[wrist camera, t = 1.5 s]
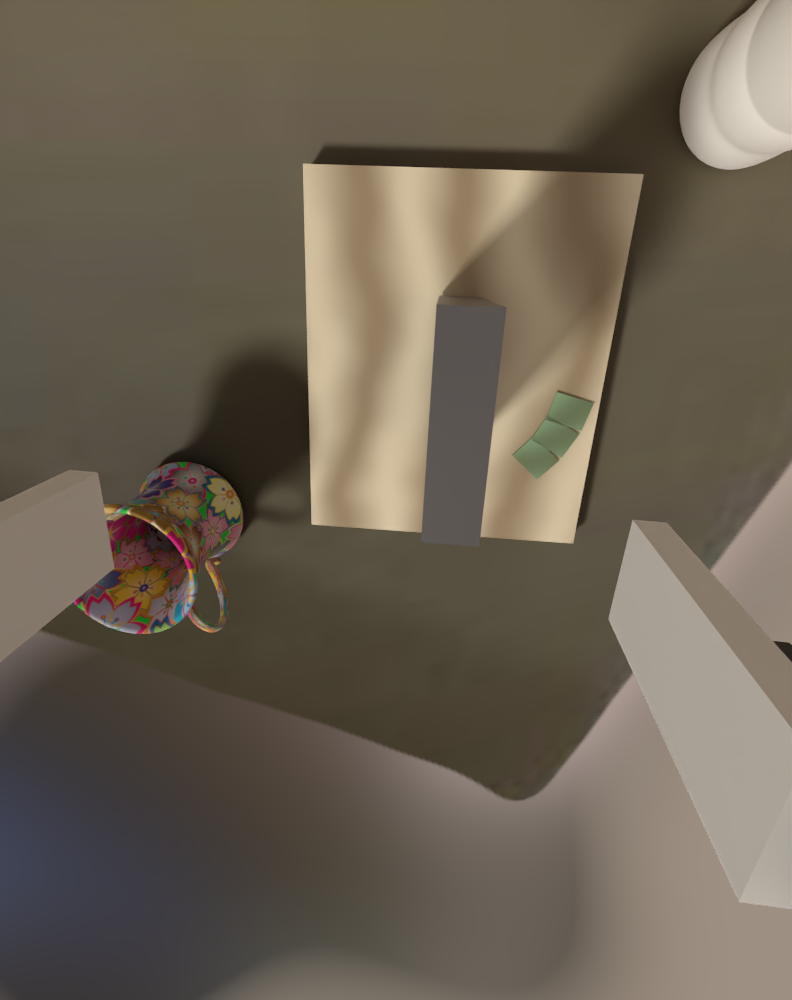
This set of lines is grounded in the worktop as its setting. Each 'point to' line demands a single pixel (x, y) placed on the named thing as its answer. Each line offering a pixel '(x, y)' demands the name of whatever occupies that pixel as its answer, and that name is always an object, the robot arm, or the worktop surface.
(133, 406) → the worktop surface
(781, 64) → the water bottle
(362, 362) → the beige flat board
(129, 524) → the mug
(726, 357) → the worktop surface
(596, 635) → the worktop surface
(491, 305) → the gray square slab
